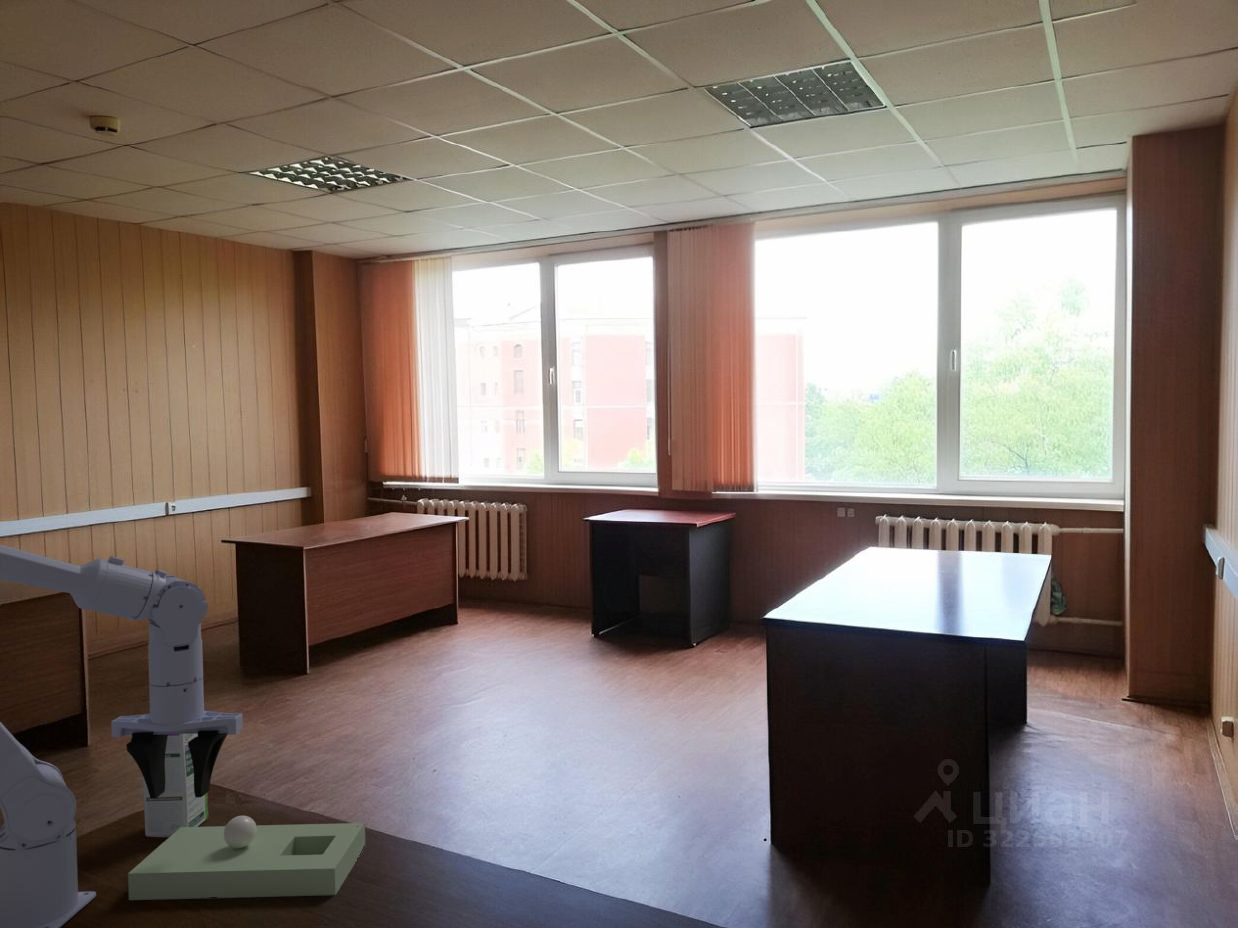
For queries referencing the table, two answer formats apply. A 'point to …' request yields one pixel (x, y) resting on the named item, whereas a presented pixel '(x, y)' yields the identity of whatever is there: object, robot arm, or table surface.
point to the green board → (249, 863)
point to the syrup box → (175, 793)
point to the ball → (240, 832)
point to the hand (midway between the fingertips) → (179, 794)
